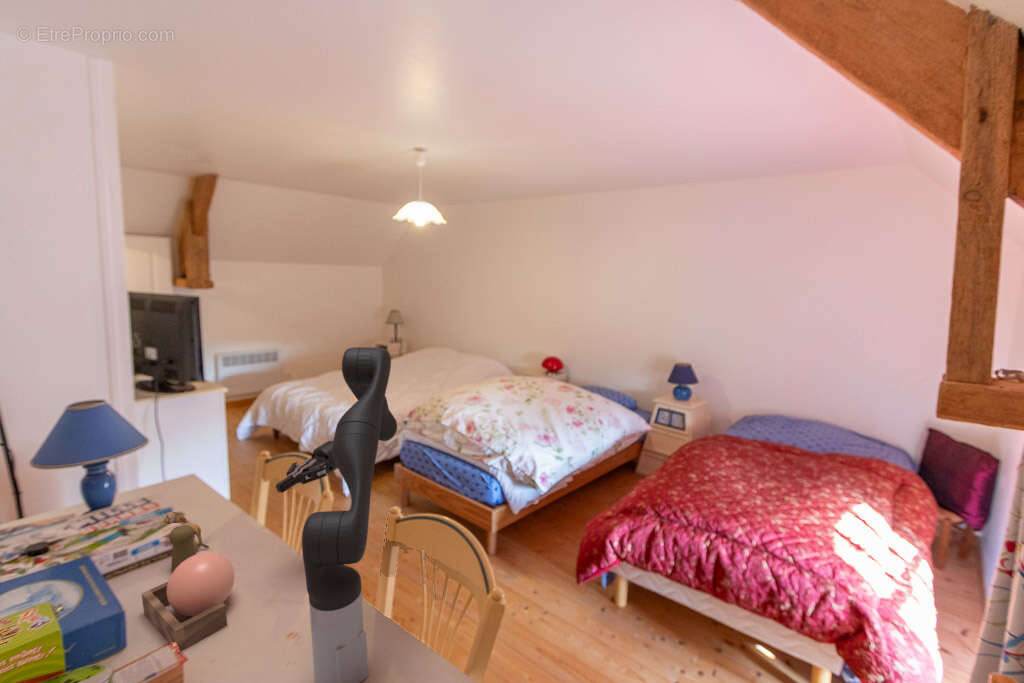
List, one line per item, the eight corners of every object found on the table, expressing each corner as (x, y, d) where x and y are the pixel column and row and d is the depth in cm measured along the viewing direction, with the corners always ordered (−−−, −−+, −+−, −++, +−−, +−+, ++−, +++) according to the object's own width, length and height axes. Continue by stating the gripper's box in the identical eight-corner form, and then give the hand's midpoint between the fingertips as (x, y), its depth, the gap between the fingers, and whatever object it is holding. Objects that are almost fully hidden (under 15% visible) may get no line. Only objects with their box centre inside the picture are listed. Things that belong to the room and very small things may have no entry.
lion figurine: (159, 546, 136) (156, 516, 134) (177, 535, 141) (174, 507, 139) (201, 554, 132) (197, 523, 130) (217, 543, 137) (214, 514, 135)
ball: (252, 560, 112) (191, 567, 102) (235, 619, 110) (171, 632, 100) (226, 542, 120) (167, 546, 110) (210, 597, 118) (149, 607, 108)
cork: (185, 575, 123) (180, 535, 121) (165, 572, 124) (160, 532, 122) (204, 561, 129) (200, 523, 127) (185, 558, 130) (181, 520, 128)
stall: (227, 625, 106) (225, 604, 105) (177, 653, 98) (175, 631, 98) (191, 591, 117) (189, 572, 116) (144, 613, 109) (141, 593, 109)
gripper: (315, 438, 133) (257, 472, 119) (347, 441, 125) (289, 478, 111) (324, 463, 134) (268, 499, 120) (356, 467, 127) (300, 506, 113)
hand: (278, 489), depth 116 cm, fingers closed
